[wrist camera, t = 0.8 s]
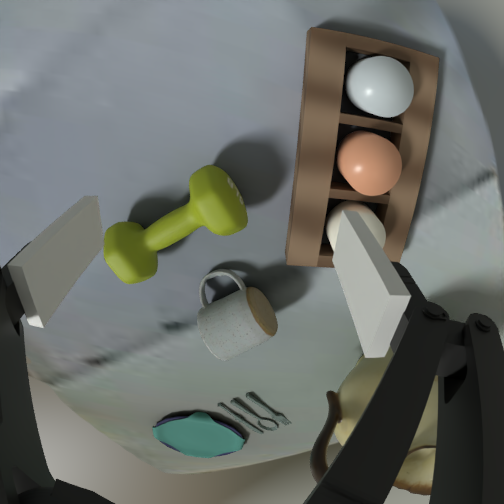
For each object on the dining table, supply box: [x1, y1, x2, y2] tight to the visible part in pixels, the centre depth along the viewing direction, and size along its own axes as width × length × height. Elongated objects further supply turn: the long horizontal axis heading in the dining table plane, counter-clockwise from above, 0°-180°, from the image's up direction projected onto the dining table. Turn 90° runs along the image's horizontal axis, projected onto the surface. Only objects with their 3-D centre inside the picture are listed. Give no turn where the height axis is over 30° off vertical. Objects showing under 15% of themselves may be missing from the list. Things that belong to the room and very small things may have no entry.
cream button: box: [325, 200, 386, 251], centre depth 35 cm, size 6×6×4 cm
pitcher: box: [310, 346, 438, 495], centre depth 40 cm, size 22×24×25 cm
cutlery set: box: [152, 393, 291, 458], centre depth 61 cm, size 20×30×2 cm, turn 125°
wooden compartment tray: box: [285, 27, 439, 268], centre depth 32 cm, size 26×14×3 cm, turn 176°
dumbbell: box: [104, 165, 248, 284], centre depth 35 cm, size 16×8×7 cm, turn 119°
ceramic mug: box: [197, 269, 278, 361], centre depth 40 cm, size 11×8×8 cm
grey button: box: [344, 56, 414, 117], centre depth 27 cm, size 6×6×4 cm
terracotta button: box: [336, 130, 402, 196], centre depth 31 cm, size 6×6×4 cm
